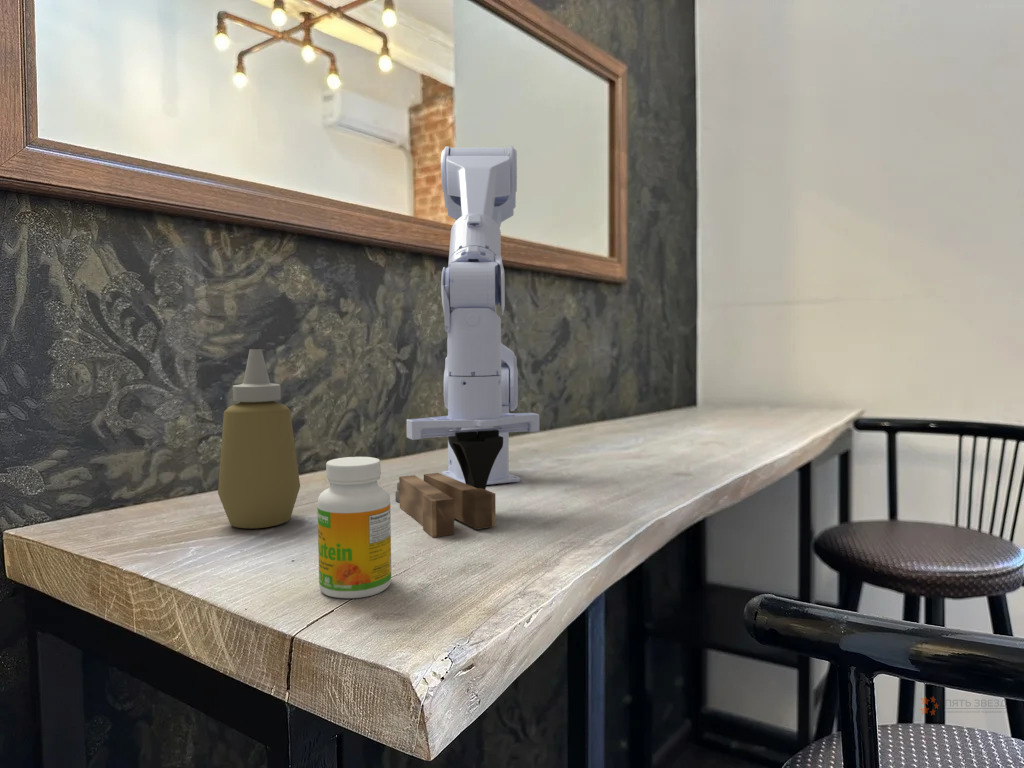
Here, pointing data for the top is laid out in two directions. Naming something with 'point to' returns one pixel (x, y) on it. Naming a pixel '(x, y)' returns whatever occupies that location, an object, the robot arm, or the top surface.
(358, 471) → the supplement bottle
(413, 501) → the brown wooden block
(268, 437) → the squeeze bottle
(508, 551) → the top surface
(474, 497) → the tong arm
